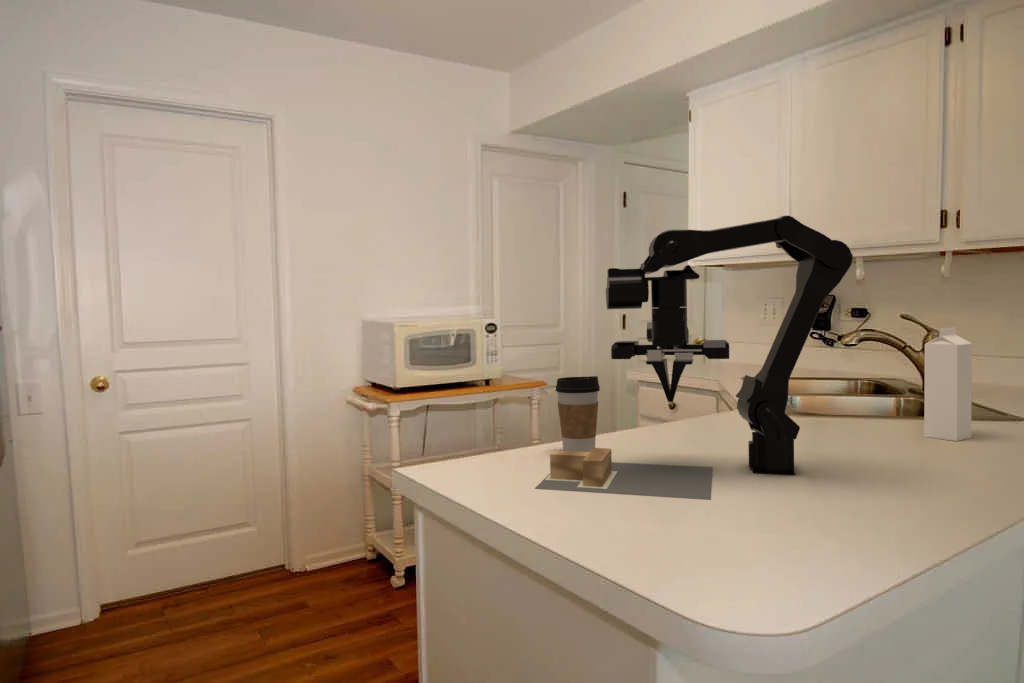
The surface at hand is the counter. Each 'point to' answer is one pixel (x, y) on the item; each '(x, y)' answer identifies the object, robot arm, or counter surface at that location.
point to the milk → (948, 387)
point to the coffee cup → (578, 412)
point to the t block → (582, 466)
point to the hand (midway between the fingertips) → (670, 401)
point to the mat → (645, 481)
